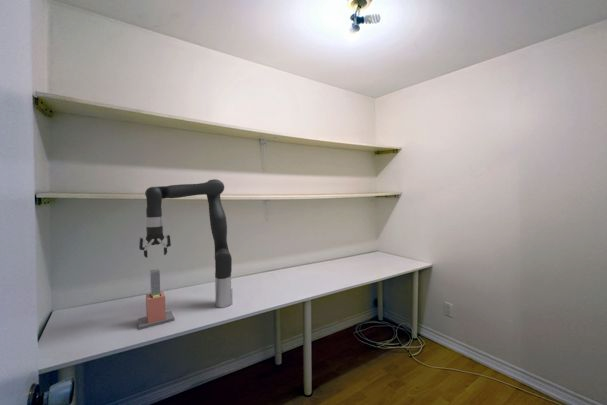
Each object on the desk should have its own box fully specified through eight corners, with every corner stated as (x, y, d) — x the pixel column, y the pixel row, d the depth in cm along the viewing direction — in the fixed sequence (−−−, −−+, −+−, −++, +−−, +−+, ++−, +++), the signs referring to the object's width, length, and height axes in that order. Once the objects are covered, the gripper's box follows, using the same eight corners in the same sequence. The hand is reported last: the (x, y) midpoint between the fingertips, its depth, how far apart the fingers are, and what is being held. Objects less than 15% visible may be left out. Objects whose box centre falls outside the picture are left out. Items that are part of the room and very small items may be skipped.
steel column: (159, 303, 146) (158, 269, 144) (160, 305, 142) (159, 271, 141) (150, 304, 143) (149, 270, 142) (151, 307, 140) (150, 272, 139)
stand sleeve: (171, 313, 152) (170, 287, 151) (174, 320, 144) (173, 293, 143) (137, 321, 143) (136, 293, 142) (139, 329, 135) (138, 300, 134)
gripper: (168, 223, 149) (169, 252, 150) (137, 225, 140) (139, 256, 141) (171, 225, 142) (172, 255, 144) (139, 227, 134) (140, 259, 135)
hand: (155, 255), depth 143 cm, fingers open, 8 cm apart
